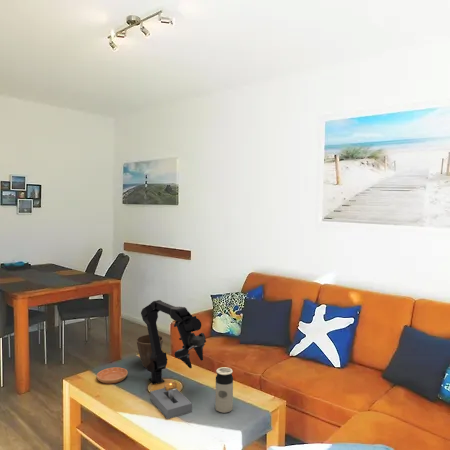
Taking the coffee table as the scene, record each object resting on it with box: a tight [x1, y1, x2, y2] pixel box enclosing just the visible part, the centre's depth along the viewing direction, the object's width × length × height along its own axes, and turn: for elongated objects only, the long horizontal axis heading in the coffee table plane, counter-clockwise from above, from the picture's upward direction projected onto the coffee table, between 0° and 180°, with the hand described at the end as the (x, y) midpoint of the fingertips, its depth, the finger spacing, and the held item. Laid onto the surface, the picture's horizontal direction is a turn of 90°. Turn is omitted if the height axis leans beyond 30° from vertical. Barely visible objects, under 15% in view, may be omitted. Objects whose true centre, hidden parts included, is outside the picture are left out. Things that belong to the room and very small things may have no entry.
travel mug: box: [214, 366, 234, 414], centre depth 183 cm, size 8×8×18 cm
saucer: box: [96, 366, 129, 385], centre depth 213 cm, size 16×16×3 cm
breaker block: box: [149, 387, 193, 420], centre depth 185 cm, size 20×12×4 cm, turn 32°
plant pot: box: [136, 334, 164, 369], centre depth 229 cm, size 15×15×16 cm
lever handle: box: [164, 380, 178, 402], centre depth 185 cm, size 3×5×10 cm
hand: (196, 364), depth 192 cm, fingers open, 9 cm apart
